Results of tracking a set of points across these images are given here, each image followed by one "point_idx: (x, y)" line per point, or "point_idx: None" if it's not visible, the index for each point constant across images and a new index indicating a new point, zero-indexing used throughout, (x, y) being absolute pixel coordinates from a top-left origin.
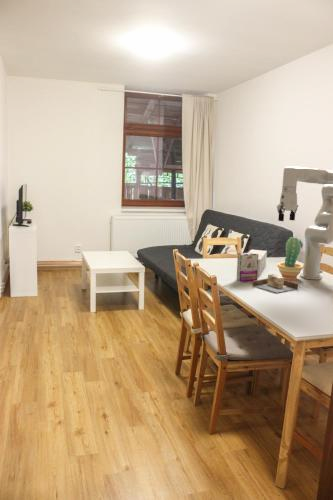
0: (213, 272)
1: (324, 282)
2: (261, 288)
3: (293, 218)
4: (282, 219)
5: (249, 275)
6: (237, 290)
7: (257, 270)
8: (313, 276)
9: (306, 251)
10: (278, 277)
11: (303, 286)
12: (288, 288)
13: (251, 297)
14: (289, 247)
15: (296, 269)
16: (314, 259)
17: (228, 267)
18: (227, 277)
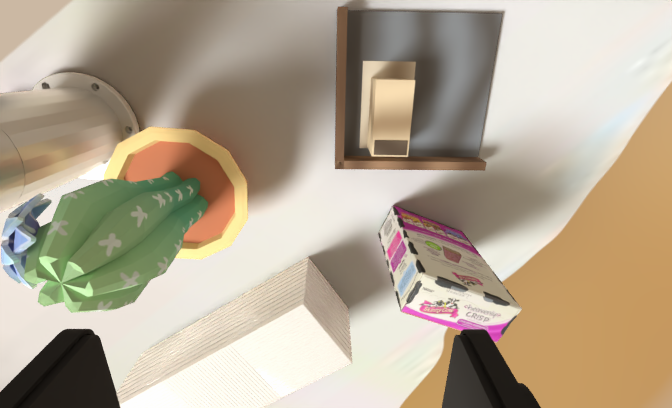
0: (419, 370)
1: (91, 17)
2: (485, 111)
3: (71, 370)
4: (494, 365)
5: (433, 229)
6: (583, 150)
7: (312, 277)
8: (93, 96)
9: (18, 181)
10: (405, 94)
11: (267, 29)
12: (384, 34)
13: (643, 39)
14: (160, 239)
15: (199, 133)
16: (22, 109)
17: (307, 395)
18: None
